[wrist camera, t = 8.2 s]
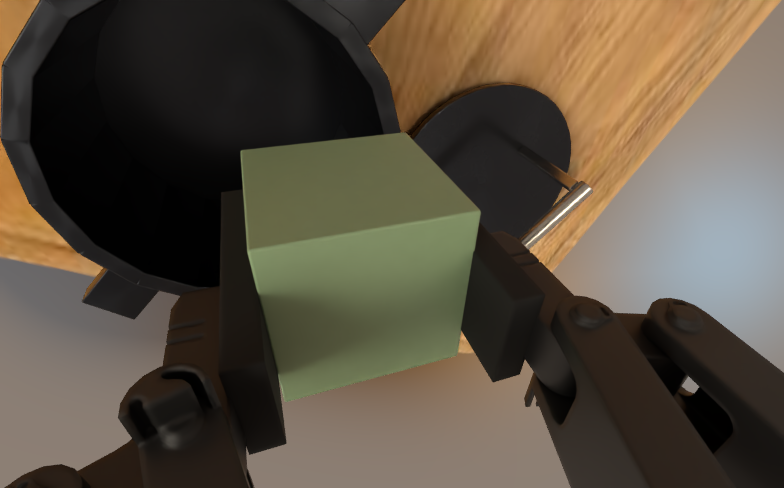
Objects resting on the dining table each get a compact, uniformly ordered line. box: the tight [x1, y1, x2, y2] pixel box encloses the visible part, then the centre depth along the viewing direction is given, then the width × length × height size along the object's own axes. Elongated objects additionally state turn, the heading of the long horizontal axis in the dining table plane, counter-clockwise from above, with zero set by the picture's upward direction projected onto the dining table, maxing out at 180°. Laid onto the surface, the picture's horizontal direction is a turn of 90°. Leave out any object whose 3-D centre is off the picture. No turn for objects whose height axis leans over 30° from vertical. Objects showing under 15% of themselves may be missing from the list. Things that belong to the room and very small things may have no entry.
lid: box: [410, 83, 593, 250], centre depth 30 cm, size 16×16×8 cm
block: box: [240, 132, 481, 402], centre depth 12 cm, size 5×5×5 cm
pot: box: [0, 0, 405, 319], centre depth 20 cm, size 15×20×10 cm
